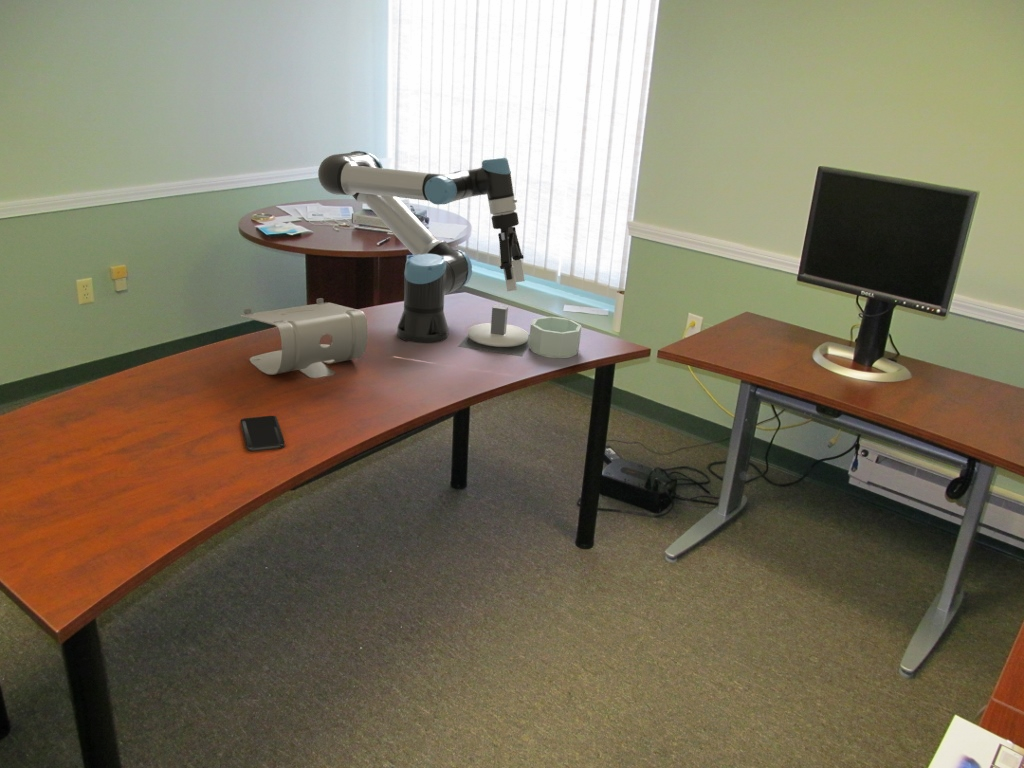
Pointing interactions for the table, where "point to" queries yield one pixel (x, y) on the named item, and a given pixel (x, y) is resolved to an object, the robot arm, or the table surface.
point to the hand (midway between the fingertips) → (516, 286)
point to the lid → (498, 330)
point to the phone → (262, 433)
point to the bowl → (554, 337)
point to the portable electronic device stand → (312, 338)
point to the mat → (511, 350)
